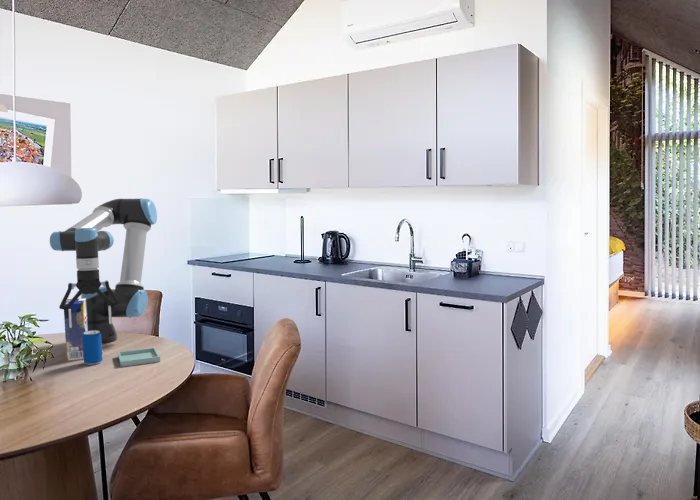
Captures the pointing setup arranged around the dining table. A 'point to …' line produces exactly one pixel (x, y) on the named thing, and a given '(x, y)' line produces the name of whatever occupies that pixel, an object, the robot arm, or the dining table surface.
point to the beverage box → (76, 329)
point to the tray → (138, 357)
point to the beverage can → (92, 347)
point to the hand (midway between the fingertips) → (90, 325)
